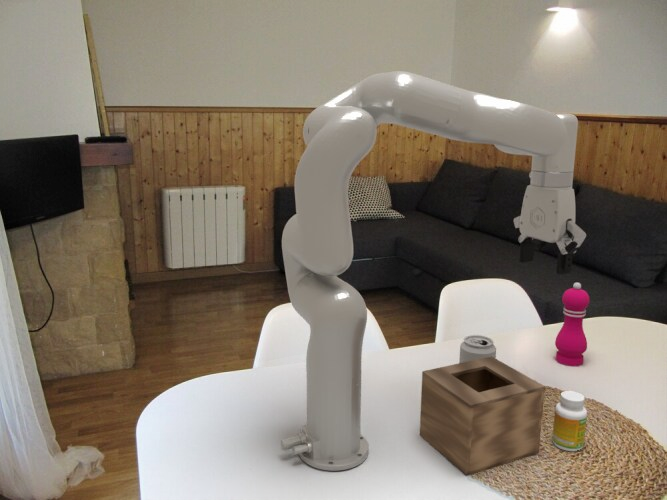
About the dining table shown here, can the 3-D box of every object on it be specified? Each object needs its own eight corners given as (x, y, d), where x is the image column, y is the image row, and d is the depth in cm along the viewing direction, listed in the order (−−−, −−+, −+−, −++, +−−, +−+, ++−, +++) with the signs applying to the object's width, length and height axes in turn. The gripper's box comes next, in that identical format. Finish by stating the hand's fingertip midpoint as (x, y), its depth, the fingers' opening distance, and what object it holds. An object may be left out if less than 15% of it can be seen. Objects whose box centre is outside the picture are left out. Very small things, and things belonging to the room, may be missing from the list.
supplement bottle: (580, 455, 105) (586, 405, 102) (548, 446, 107) (553, 397, 105) (585, 441, 109) (591, 393, 107) (555, 433, 112) (560, 386, 110)
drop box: (466, 475, 99) (470, 405, 96) (419, 435, 111) (422, 371, 108) (538, 453, 105) (545, 386, 102) (487, 416, 118) (491, 356, 115)
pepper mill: (590, 367, 141) (599, 287, 136) (559, 367, 141) (567, 286, 136) (578, 355, 148) (586, 278, 143) (549, 354, 148) (556, 278, 143)
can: (493, 400, 124) (497, 347, 121) (457, 397, 126) (460, 344, 123) (491, 385, 131) (495, 334, 129) (457, 381, 133) (460, 331, 130)
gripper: (504, 176, 118) (499, 259, 122) (573, 186, 103) (564, 281, 107) (532, 174, 121) (526, 255, 125) (603, 184, 106) (594, 275, 110)
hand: (544, 267), depth 116 cm, fingers open, 9 cm apart
